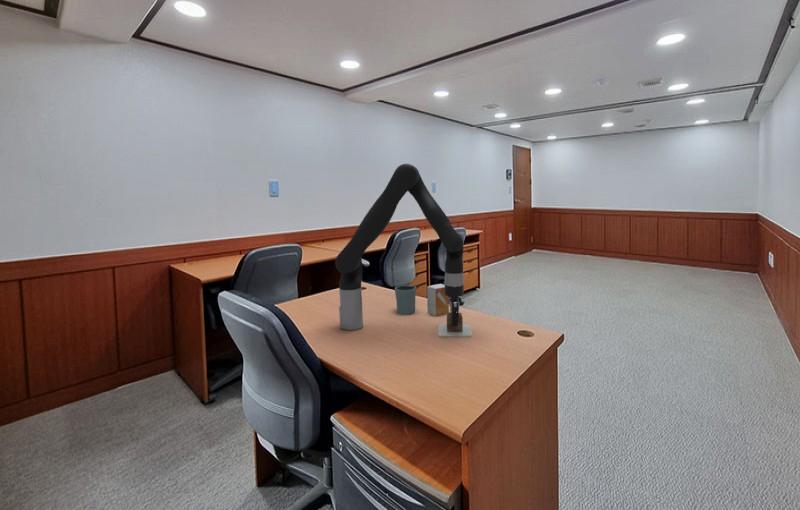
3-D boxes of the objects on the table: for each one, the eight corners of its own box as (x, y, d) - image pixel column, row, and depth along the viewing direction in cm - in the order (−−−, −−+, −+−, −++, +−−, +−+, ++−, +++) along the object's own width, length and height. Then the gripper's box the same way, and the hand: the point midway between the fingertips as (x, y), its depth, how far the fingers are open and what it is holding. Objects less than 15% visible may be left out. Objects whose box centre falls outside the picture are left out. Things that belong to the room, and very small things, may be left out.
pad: (438, 336, 148) (438, 335, 148) (438, 325, 161) (437, 324, 161) (472, 336, 147) (472, 335, 147) (468, 325, 160) (468, 323, 160)
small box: (435, 316, 172) (435, 288, 170) (427, 313, 177) (426, 286, 175) (449, 313, 176) (449, 285, 174) (440, 309, 182) (440, 283, 180)
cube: (447, 332, 151) (447, 317, 150) (446, 326, 157) (446, 312, 156) (462, 332, 151) (462, 317, 150) (461, 326, 156) (461, 312, 155)
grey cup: (402, 316, 173) (401, 291, 172) (391, 311, 182) (390, 286, 180) (420, 312, 178) (420, 287, 177) (409, 307, 187) (408, 283, 185)
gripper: (443, 279, 158) (444, 316, 160) (445, 287, 144) (445, 328, 146) (462, 279, 157) (462, 316, 160) (465, 287, 143) (465, 328, 146)
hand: (454, 322), depth 153 cm, fingers open, 8 cm apart
